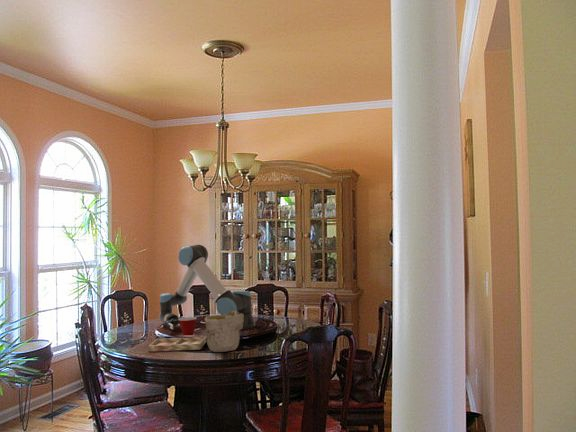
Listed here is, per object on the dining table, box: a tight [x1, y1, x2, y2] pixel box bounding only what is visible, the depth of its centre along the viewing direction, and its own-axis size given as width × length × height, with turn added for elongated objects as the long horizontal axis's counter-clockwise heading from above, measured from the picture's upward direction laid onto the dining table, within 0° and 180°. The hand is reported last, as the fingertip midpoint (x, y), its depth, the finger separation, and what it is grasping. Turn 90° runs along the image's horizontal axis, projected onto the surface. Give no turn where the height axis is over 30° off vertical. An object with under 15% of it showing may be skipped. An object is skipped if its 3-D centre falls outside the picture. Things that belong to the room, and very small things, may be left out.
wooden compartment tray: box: [147, 336, 207, 352], centre depth 276 cm, size 29×15×3 cm, turn 87°
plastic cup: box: [178, 316, 197, 336], centre depth 295 cm, size 11×11×12 cm
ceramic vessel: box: [204, 311, 244, 353], centre depth 268 cm, size 23×24×25 cm
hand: (183, 325), depth 301 cm, fingers open, 13 cm apart
